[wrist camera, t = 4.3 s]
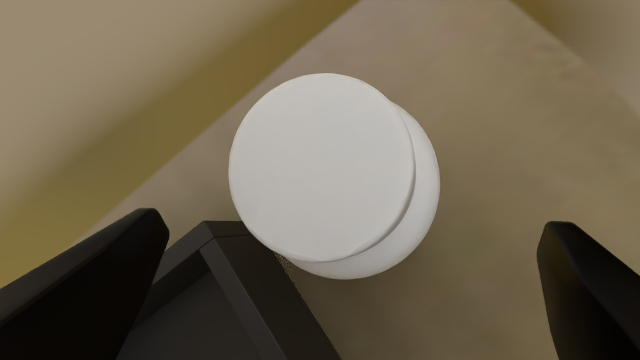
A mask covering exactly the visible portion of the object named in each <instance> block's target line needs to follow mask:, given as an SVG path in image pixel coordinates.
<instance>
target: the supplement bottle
mask: <svg viewBox="0 0 640 360" xmlns="http://www.w3.org/2000/svg"><path fill="white" fill-rule="evenodd" d="M228 177H229V187H230V192H231V196H232V200H233V203H234V205H235V208H236V210H237V212H238V214H239V216H240V218H241V219H242V221H243V223H244V224H245V226H246V227H247V229H248V230H249V231H250V232H251V233H252V234H253V235H254V236H255V238H257V239H258V240H259V241H260V242H261V243H262V244H264V245H265V246H266V247H268V248H269V249H271V250H272V251H274V252H276V253H278V254H280V255H282V256H284V257H285V258H286V259H288V260H289V261H290V262H291V263H293V264H294V265H296V266H298V267H299V268H301V269H303V270H305V271H308V272H310V273H312V274H315V275H318V276H322V277H326V278H332V279H358V278H364V277H369V276H372V275H375V274H378V273H381V272H383V271H386V270H388V269H390V268H392V267H393V266H395V265H397V264H398V263H400V262H401V261H402V260H404V259H405V258H406V257H407V256H408V255H409V254H411V253H412V252H413V251H414V250H415V249H416V247H417V246H418V245H419V244H420V243H421V241H422V240H423V239H424V237H425V235H426V234H427V232H428V230H429V228H430V226H431V224H432V222H433V220H434V217H435V214H436V211H437V206H438V202H439V195H440V175H439V168H438V163H437V158H436V155H435V152H434V149H433V146H432V144H431V142H430V140H429V138H428V137H427V135H426V133H425V132H424V130H423V129H422V127H421V126H420V125H419V124H418V122H417V121H416V120H415V119H414V118H413V117H412V116H411V115H410V114H409V113H408V112H406V111H405V110H404V109H403V108H401V107H400V106H398V105H396V104H395V103H393V102H391V101H389V100H388V99H387V98H386V97H385V96H384V95H383V94H382V93H381V92H379V91H378V90H377V89H375V88H374V87H372V86H371V85H369V84H367V83H365V82H363V81H361V80H358V79H355V78H353V77H349V76H345V75H339V74H332V73H319V74H310V75H305V76H300V77H297V78H294V79H291V80H289V81H287V82H284V83H282V84H281V85H279V86H277V87H275V88H274V89H272V90H271V91H269V92H268V93H267V94H266V95H264V96H263V97H262V98H261V99H259V101H258V102H257V103H256V104H255V105H254V106H253V107H252V108H251V109H250V110H249V112H248V113H247V115H246V116H245V118H244V119H243V121H242V123H241V124H240V126H239V128H238V130H237V133H236V135H235V138H234V141H233V144H232V148H231V151H230V158H229V171H228Z"/></svg>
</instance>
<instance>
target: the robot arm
mask: <svg viewBox="0 0 640 360" xmlns="http://www.w3.org/2000/svg"><path fill="white" fill-rule="evenodd" d="M168 240H169V229H168V228H167V226H166V224H165V222H164V221H163V219H162V217H161V215H160V214H159V212H158V211H157V210H156V209H154V208H139V209H137V210H135V211H133V212H131V213H130V214H128V215H126V216H125V217H123V218H121V219H119V220H118V221H116V222H114V223H113V224H111V225H109V226H107V227H106V228H104V229H102V230H100V231H99V232H97V233H95V234H94V235H92V236H90V237H88V238H87V239H85V240H83V241H82V242H80V243H78V244H76V245H75V246H73V247H71V248H70V249H68V250H66V251H64V252H63V253H61V254H59V255H58V256H56V257H54V258H53V259H51V260H49V261H47V262H46V263H44V264H42V265H41V266H39V267H37V268H35V269H34V270H32V271H30V272H29V273H27V274H25V275H23V276H22V277H20V278H18V279H16V280H15V281H13V282H11V283H10V284H8V285H6V286H4V287H3V288H1V289H0V360H116V358H117V356H118V354H119V352H120V350H121V348H122V346H123V344H124V342H125V340H126V338H127V336H128V334H129V332H130V330H131V328H132V325H133V323H134V321H135V319H136V317H137V315H138V313H139V311H140V309H141V307H142V305H143V303H144V301H145V299H146V297H147V295H148V292H149V290H150V288H151V285H152V283H153V280H154V277H155V275H156V272H157V269H158V267H159V264H160V261H161V259H162V256H163V253H164V251H165V248H166V245H167V243H168ZM537 262H538V268H539V273H540V279H541V284H542V290H543V295H544V300H545V306H546V311H547V317H548V322H549V327H550V331H551V335H552V338H553V342H554V345H555V348H556V352H557V355H558V358H559V360H640V276H639V275H638V274H637V273H636V272H634V271H633V270H632V269H631V268H629V267H628V266H627V265H626V264H624V263H623V262H622V261H621V260H619V259H618V258H617V257H616V256H614V255H613V254H612V253H611V252H609V251H608V250H607V249H606V248H604V247H603V246H602V245H601V244H599V243H598V242H597V241H596V240H594V239H593V238H592V237H591V236H589V235H588V234H587V233H586V232H584V231H583V230H582V229H581V228H579V227H578V226H577V225H575V224H574V223H572V222H564V221H550V222H548V223H547V224H546V225H545V227H544V230H543V233H542V236H541V239H540V242H539V245H538V248H537Z"/></svg>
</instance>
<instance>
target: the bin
mask: <svg viewBox="0 0 640 360" xmlns="http://www.w3.org/2000/svg"><path fill="white" fill-rule="evenodd" d="M116 360H341V358H340V356H339V355H338V353H337V352H336V350H335V349H334V347H333V346H332V344H331V342H330V341H329V339H328V338H327V336H326V335H325V333H324V332H323V330H322V328H321V327H320V325H319V324H318V322H317V321H316V319H315V317H314V316H313V314H312V313H311V311H310V310H309V308H308V307H307V305H306V303H305V302H304V300H303V299H302V297H301V296H300V294H299V293H298V291H297V289H296V288H295V286H294V285H293V283H292V282H291V280H290V279H289V277H288V275H287V274H286V272H285V271H284V269H283V268H282V266H281V264H280V263H279V261H278V260H277V258H276V257H275V255H274V254H273V252H272V250H271V249H269V248H268V247H266V246H265V245H264V244H262V243H261V242H260V241H259V240H258V239H257V238H255V236H254V235H253V234H252V233H251V232H250V231H249V230H248V229H247V227H246V226H245V224H244V223H243V221H203V222H201V223H200V224H199V225H197V226H196V227H195V228H194V229H192V230H191V231H190V232H189V233H187V234H186V235H185V236H184V237H182V238H181V239H180V240H179V241H177V242H176V243H175V244H173V245H172V246H171V247H170V248H168V249H167V250H166V251H165V252H164V253H163V256H162V259H161V261H160V264H159V267H158V269H157V272H156V275H155V277H154V280H153V283H152V285H151V288H150V290H149V292H148V295H147V297H146V299H145V301H144V303H143V305H142V307H141V309H140V311H139V313H138V315H137V317H136V319H135V321H134V323H133V325H132V328H131V330H130V332H129V334H128V336H127V338H126V340H125V342H124V344H123V346H122V348H121V350H120V352H119V354H118V356H117V358H116Z"/></svg>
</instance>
